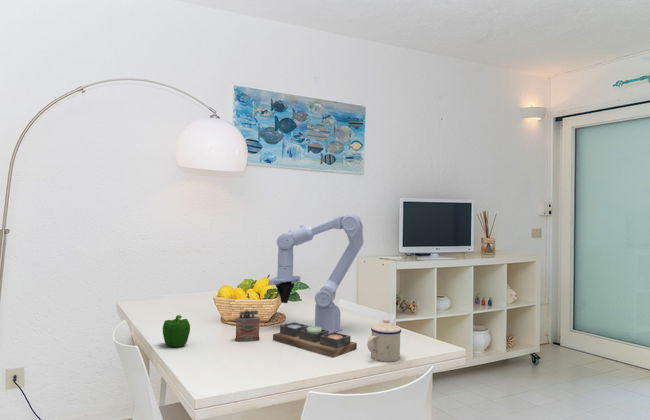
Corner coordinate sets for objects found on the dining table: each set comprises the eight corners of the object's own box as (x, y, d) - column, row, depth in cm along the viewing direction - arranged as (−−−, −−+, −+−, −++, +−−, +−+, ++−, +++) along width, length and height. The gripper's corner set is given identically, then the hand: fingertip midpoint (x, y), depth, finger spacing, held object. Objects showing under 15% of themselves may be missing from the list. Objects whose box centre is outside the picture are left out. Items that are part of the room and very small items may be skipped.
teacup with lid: (384, 351, 151) (385, 314, 151) (406, 358, 144) (407, 320, 144) (357, 358, 143) (358, 319, 143) (378, 366, 136) (379, 325, 136)
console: (297, 333, 169) (297, 320, 169) (356, 349, 152) (356, 334, 152) (272, 340, 160) (273, 326, 160) (332, 357, 143) (333, 342, 143)
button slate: (293, 329, 165) (294, 323, 165) (304, 331, 162) (304, 326, 162) (284, 331, 162) (284, 326, 162) (294, 334, 159) (294, 328, 159)
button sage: (313, 330, 160) (313, 325, 160) (324, 333, 156) (324, 328, 156) (303, 333, 156) (303, 328, 156) (314, 336, 153) (314, 330, 153)
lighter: (235, 342, 157) (236, 311, 157) (234, 339, 160) (235, 309, 160) (260, 341, 159) (260, 311, 159) (258, 338, 162) (259, 308, 162)
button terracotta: (334, 339, 154) (334, 333, 154) (345, 342, 151) (346, 336, 151) (324, 342, 150) (324, 336, 150) (336, 345, 147) (336, 339, 147)
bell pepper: (161, 342, 154) (162, 311, 154) (188, 341, 157) (189, 310, 157) (162, 350, 146) (163, 317, 146) (190, 348, 149) (191, 316, 149)
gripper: (291, 263, 185) (290, 298, 185) (263, 266, 174) (262, 303, 174) (304, 265, 180) (303, 301, 180) (276, 268, 169) (275, 306, 169)
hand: (284, 302), depth 177 cm, fingers closed
